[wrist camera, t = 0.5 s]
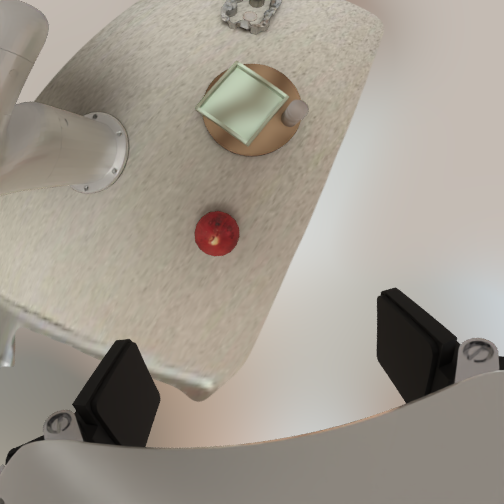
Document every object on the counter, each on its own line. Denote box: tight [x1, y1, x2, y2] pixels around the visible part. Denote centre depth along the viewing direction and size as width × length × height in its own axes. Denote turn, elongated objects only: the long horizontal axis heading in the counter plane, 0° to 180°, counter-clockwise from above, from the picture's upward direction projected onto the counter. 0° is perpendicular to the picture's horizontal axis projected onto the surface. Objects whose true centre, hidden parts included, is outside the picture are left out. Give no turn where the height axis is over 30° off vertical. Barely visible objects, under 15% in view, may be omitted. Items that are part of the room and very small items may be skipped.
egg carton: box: [221, 0, 282, 35], centre depth 30 cm, size 11×8×4 cm
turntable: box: [195, 61, 309, 156], centre depth 31 cm, size 13×13×8 cm
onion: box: [195, 211, 239, 256], centre depth 37 cm, size 6×6×8 cm
